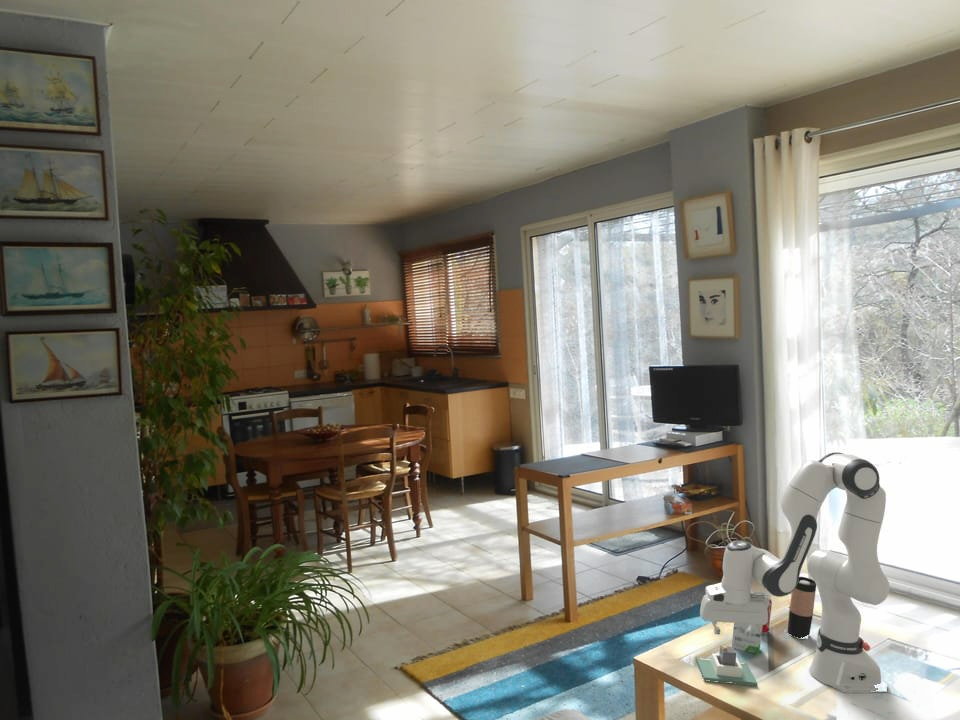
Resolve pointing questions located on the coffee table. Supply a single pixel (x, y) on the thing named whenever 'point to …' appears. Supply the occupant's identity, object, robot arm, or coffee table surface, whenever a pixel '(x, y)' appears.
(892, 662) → the coffee table surface
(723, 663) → the plug
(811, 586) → the travel mug
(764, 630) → the soda can
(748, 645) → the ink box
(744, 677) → the header board
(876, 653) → the coffee table surface
